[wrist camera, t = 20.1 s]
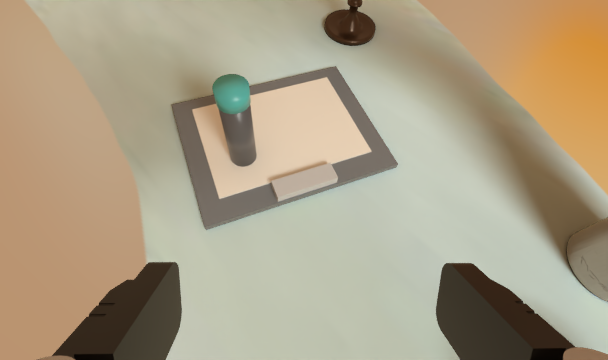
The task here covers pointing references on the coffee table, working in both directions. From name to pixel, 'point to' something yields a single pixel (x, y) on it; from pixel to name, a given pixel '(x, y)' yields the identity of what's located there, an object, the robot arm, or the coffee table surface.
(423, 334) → the coffee table surface
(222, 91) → the marker
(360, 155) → the clipboard
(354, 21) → the candlestick
